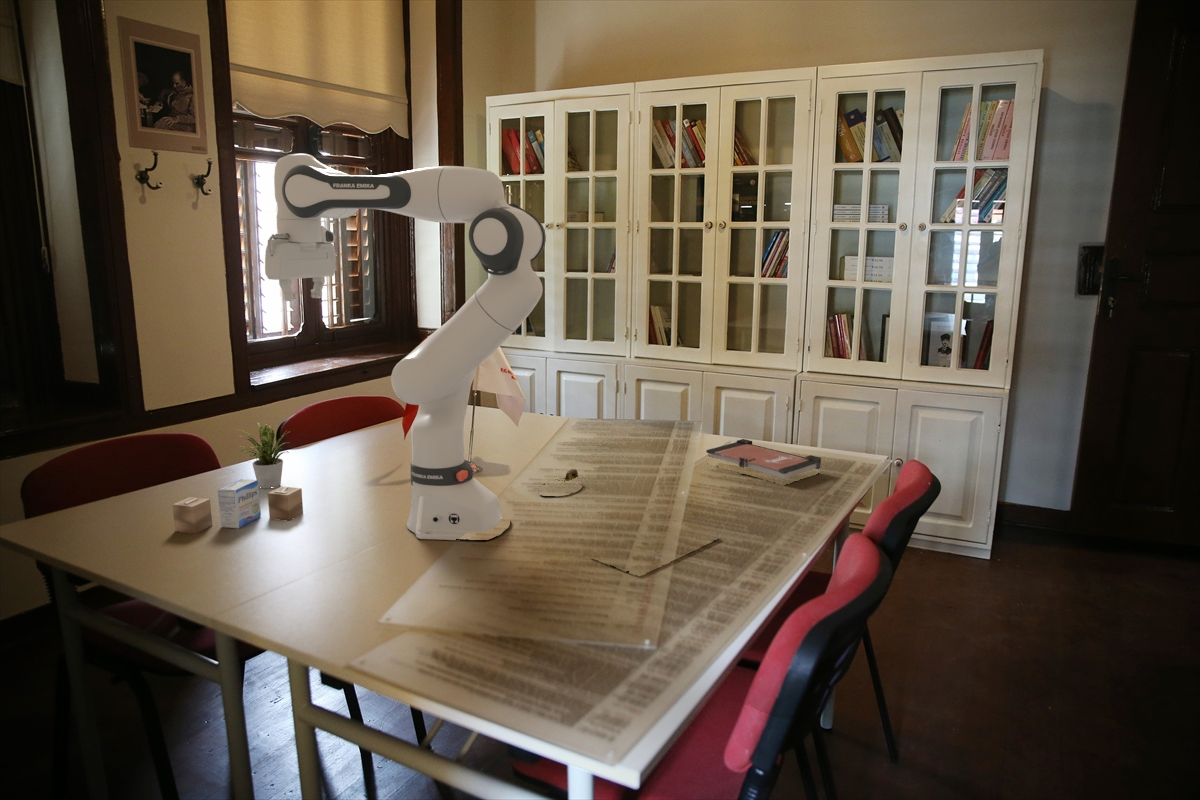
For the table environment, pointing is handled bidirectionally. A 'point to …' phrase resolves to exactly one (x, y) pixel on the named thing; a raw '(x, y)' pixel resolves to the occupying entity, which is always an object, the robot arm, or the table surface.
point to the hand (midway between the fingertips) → (303, 299)
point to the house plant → (266, 458)
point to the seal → (570, 475)
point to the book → (764, 459)
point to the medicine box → (239, 503)
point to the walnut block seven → (285, 503)
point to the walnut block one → (192, 515)
